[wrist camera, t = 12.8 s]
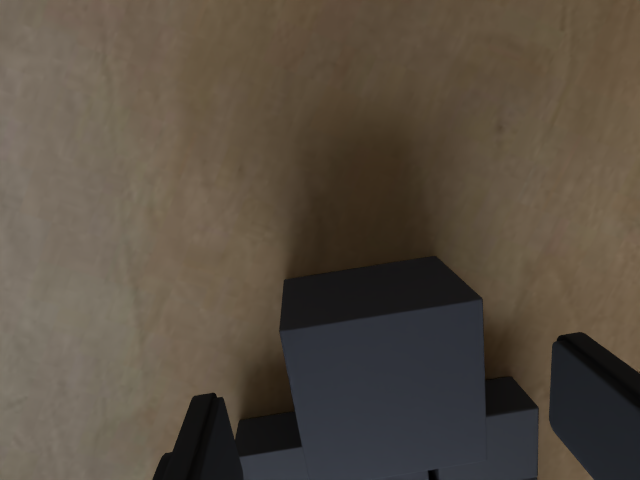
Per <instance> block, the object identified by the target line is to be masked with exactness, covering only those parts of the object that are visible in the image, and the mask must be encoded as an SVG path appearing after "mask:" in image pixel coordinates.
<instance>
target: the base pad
mask: <svg viewBox="0 0 640 480" xmlns="http://www.w3.org/2000/svg"><path fill="white" fill-rule="evenodd" d="M485 399H486V432H487V460H486V461H482V462H476V463H469V464H463V465H457V466H451V467H445V468H439V469H433V470H428V474H429V480H537V476H538V415H539V408H538V406H537V405H536V404H535V403H534V402H533V400H532V399H531V398H530V397H529V396H528V395H527V394H526V392H525V391H524V390H523V389H522V388H521V387H520V385H519V384H518V383H517V382H516V381H515V380H514V379H513V377H505V378H499V379H493V380H486V381H485ZM235 443H236V447H237V451H238V454H239V458H240V462H241V466H242V469H243V476H244V480H308V475H307V470H306V464H305V459H304V454H303V449H302V444H301V439H300V434H299V429H298V424H297V419H296V414H295V412H289V413H283V414H276V415H270V416H264V417H258V418H252V419H246V420H240V421H239V423H238V428H237V433H236V438H235Z"/></svg>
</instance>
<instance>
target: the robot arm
mask: <svg viewBox="0 0 640 480" xmlns="http://www.w3.org/2000/svg"><path fill="white" fill-rule="evenodd" d="M549 421H550V425H551V427H552V429H553V431H554V432H555V434H556V435H557V436H558V437H559V438H560V440H561V441H562V442H563V443H564V444H565V445H566V447H567V448H568V449H569V450H570V451H571V453H572V454H573V455H574V456H575V457H576V459H577V460H578V461H579V462H580V463H581V465H582V466H583V467H584V468H585V469H586V470H587V472H588V473H589V474H590V475H591V476H592V478H593V479H594V480H640V373H638V372H637V371H636V370H634V369H633V368H631V367H630V366H629V365H627V364H626V363H625V362H623V361H622V360H620V359H619V358H618V357H616V356H615V355H614V354H612V353H611V352H609V351H608V350H607V349H605V348H604V347H603V346H601V345H600V344H598V343H597V342H596V341H594V340H593V339H592V338H590V337H589V336H587V335H586V334H584V333H582V332H577V333H571V334H565V335H560V336H559V337H558V338H557V341H556V342H554V343H553V345H552V362H551V385H550V407H549ZM153 480H244V476H243V469H242V466H241V462H240V458H239V454H238V451H237V447H236V443H235V439H234V436H233V432H232V428H231V424H230V421H229V417H228V413H227V409H226V406H225V402H224V399H223V397H219V398H217V396H216V394H215V393H209V394H203V395H197V396H194V397H193V398H192V400H191V402H190V405H189V408H188V411H187V413H186V416H185V419H184V422H183V424H182V427H181V430H180V433H179V435H178V438H177V441H176V443H175V446H174V449H173V452H170V453H165V454H164V455H163V456H162V458H161V460H160V462H159V464H158V467H157V469H156V472H155V474H154V477H153Z"/></svg>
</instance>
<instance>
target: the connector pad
mask: <svg viewBox="0 0 640 480" xmlns="http://www.w3.org/2000/svg"><path fill="white" fill-rule="evenodd" d="M279 332H280V337H281V343H282V348H283V353H284V358H285V363H286V368H287V373H288V378H289V383H290V388H291V393H292V398H293V403H294V409H295V414H296V419H297V424H298V429H299V434H300V439H301V444H302V449H303V454H304V459H305V464H306V470H307V475H308V480H429V474H428V470H433V469H439V468H445V467H451V466H457V465H463V464H469V463H476V462H482V461H486V460H487V432H486V399H485V365H484V332H483V299H482V298H481V297H480V296H479V295H478V294H477V293H476V292H475V291H474V290H473V289H471V288H470V287H469V286H468V285H467V284H466V283H465V282H464V281H463V280H462V279H460V278H459V277H458V276H457V275H456V274H455V273H454V272H453V271H452V270H451V269H449V268H448V267H447V266H446V265H445V264H444V263H443V262H442V261H441V260H440V259H438V258H437V257H436V256H432V257H425V258H419V259H413V260H406V261H400V262H393V263H387V264H381V265H374V266H368V267H362V268H355V269H349V270H343V271H336V272H330V273H324V274H317V275H311V276H304V277H298V278H292V279H285V280H284V286H283V297H282V308H281V319H280V330H279Z"/></svg>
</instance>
